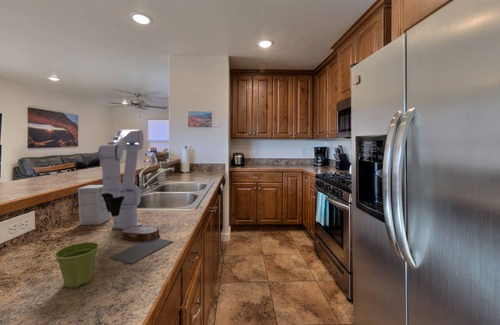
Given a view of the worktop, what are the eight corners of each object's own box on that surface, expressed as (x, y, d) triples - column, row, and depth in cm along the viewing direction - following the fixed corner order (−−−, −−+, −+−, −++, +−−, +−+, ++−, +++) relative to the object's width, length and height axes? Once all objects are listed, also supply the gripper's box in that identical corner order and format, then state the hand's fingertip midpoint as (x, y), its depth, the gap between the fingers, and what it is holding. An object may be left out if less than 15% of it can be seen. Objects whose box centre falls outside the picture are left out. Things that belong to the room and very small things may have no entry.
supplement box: (111, 218, 117) (110, 184, 116) (100, 224, 108) (98, 187, 107) (91, 218, 117) (90, 184, 116) (78, 224, 108) (77, 187, 107)
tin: (150, 241, 88) (163, 235, 96) (150, 232, 88) (163, 227, 96) (115, 238, 91) (131, 232, 100) (115, 230, 91) (131, 225, 100)
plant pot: (87, 291, 58) (85, 256, 58) (46, 293, 58) (44, 258, 57) (107, 271, 68) (105, 241, 67) (72, 272, 67) (70, 242, 66)
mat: (108, 258, 76) (108, 257, 76) (152, 238, 92) (152, 237, 92) (131, 264, 72) (131, 263, 72) (173, 242, 88) (173, 241, 88)
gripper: (128, 178, 85) (130, 215, 86) (119, 174, 96) (120, 207, 97) (105, 180, 80) (107, 219, 81) (98, 175, 91) (100, 210, 92)
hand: (113, 213), depth 89 cm, fingers open, 7 cm apart
